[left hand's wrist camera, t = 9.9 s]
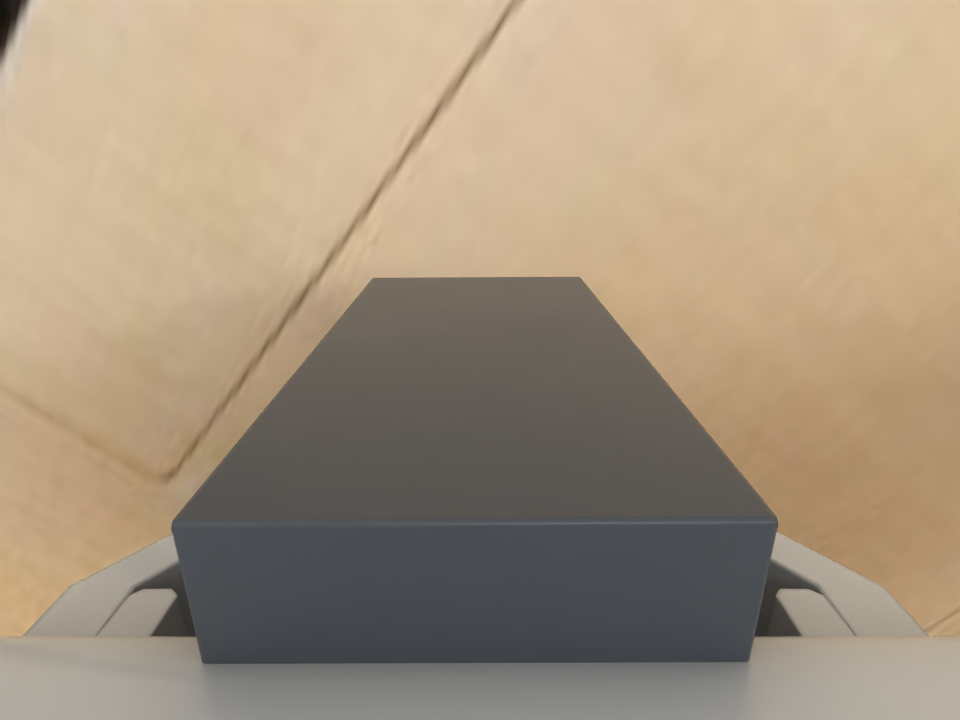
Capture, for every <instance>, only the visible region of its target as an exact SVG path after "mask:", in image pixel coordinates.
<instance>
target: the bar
mask: <svg viewBox="0 0 960 720" xmlns="http://www.w3.org/2000/svg"><path fill="white" fill-rule="evenodd" d="M777 527H778V520H777V517H776V516H775V514H774V513H773V512H772V511H771V510H770V508H769V507H768V506H767V505H766V503H765V502H764V501H763V500H762V499H761V497H760V496H759V495H758V494H757V492H756V491H755V490H754V489H753V488H752V486H751V485H750V484H749V483H748V481H747V480H746V479H745V478H744V477H743V475H742V474H741V473H740V472H739V471H738V469H737V468H736V467H735V466H734V464H733V463H732V462H731V461H730V460H729V458H728V457H727V456H726V455H725V453H724V452H723V451H722V450H721V449H720V447H719V446H718V445H717V444H716V442H715V441H714V440H713V439H712V438H711V436H710V435H709V434H708V433H707V432H706V430H705V429H704V428H703V427H702V425H701V424H700V423H699V422H698V421H697V419H696V418H695V417H694V416H693V414H692V413H691V412H690V411H689V410H688V408H687V407H686V406H685V405H684V403H683V402H682V401H681V400H680V399H679V397H678V396H677V395H676V394H675V393H674V391H673V390H672V389H671V388H670V386H669V385H668V384H667V383H666V382H665V380H664V379H663V378H662V377H661V375H660V374H659V373H658V372H657V371H656V369H655V368H654V367H653V366H652V364H651V363H650V362H649V361H648V360H647V358H646V357H645V356H644V355H643V354H642V352H641V351H640V350H639V349H638V347H637V346H636V345H635V344H634V343H633V341H632V340H631V339H630V338H629V336H628V335H627V334H626V333H625V332H624V330H623V329H622V328H621V327H620V325H619V324H618V323H617V322H616V321H615V319H614V318H613V317H612V316H611V315H610V313H609V312H608V311H607V310H606V308H605V307H604V306H603V305H602V304H601V302H600V301H599V300H598V299H597V297H596V296H595V295H594V294H593V293H592V291H591V290H590V289H589V288H588V286H587V285H586V284H585V283H584V282H583V280H582V279H581V278H580V277H485V278H373V279H372V280H371V281H370V282H369V284H368V285H367V286H366V287H365V288H364V290H363V291H362V292H361V293H360V295H359V296H358V297H357V298H356V299H355V301H354V302H353V303H352V304H351V305H350V307H349V308H348V309H347V310H346V311H345V313H344V314H343V315H342V316H341V318H340V319H339V320H338V321H337V322H336V324H335V325H334V326H333V327H332V328H331V330H330V331H329V332H328V333H327V335H326V336H325V337H324V338H323V339H322V341H321V342H320V343H319V344H318V345H317V347H316V348H315V349H314V350H313V351H312V353H311V354H310V355H309V356H308V358H307V359H306V360H305V361H304V362H303V364H302V365H301V366H300V367H299V368H298V370H297V371H296V372H295V373H294V374H293V376H292V377H291V378H290V379H289V381H288V382H287V383H286V384H285V385H284V387H283V388H282V389H281V390H280V391H279V393H278V394H277V395H276V396H275V397H274V399H273V400H272V401H271V402H270V404H269V405H268V406H267V407H266V408H265V410H264V411H263V412H262V413H261V414H260V416H259V417H258V418H257V419H256V421H255V422H254V423H253V424H252V425H251V427H250V428H249V429H248V430H247V431H246V433H245V434H244V435H243V436H242V437H241V439H240V440H239V441H238V442H237V444H236V445H235V446H234V447H233V448H232V450H231V451H230V452H229V453H228V454H227V456H226V457H225V458H224V459H223V460H222V462H221V463H220V464H219V465H218V467H217V468H216V469H215V470H214V471H213V473H212V474H211V475H210V476H209V477H208V479H207V480H206V481H205V482H204V483H203V485H202V486H201V487H200V488H199V490H198V491H197V492H196V493H195V494H194V496H193V497H192V498H191V499H190V500H189V502H188V503H187V504H186V505H185V507H184V508H183V509H182V510H181V511H180V513H179V514H178V515H177V516H176V517H175V519H174V520H173V522H172V527H171V529H172V533H173V538H174V542H175V546H176V551H177V555H178V559H179V564H180V568H181V572H182V577H183V581H184V586H185V590H186V594H187V599H188V603H189V607H190V612H191V616H192V620H193V625H194V629H195V633H196V638H197V642H198V646H199V651H200V655H201V660H202V663H205V664H341V663H639V662H747V661H749V659H750V655H751V650H752V645H753V641H754V636H755V631H756V626H757V622H758V617H759V612H760V608H761V603H762V598H763V593H764V589H765V584H766V579H767V575H768V570H769V565H770V560H771V556H772V551H773V546H774V542H775V537H776V532H777Z"/></svg>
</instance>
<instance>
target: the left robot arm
mask: <svg viewBox="0 0 960 720" xmlns="http://www.w3.org/2000/svg"><path fill="white" fill-rule="evenodd" d="M0 720H960V636H929V635H928V634H927V633H926V632H925V631H924V630H923V629H922V627H921V626H920V625H919V624H918V623H917V622H916V621H915V620H914V619H913V618H912V617H911V615H910V614H909V613H908V612H907V611H906V610H905V609H904V608H903V607H902V606H901V605H900V604H899V602H898V601H897V600H896V599H895V598H894V597H893V596H892V595H891V594H890V593H889V592H888V590H887V589H886V588H885V587H883V586H881V585H879V584H877V583H875V582H873V581H871V580H869V579H868V578H866V577H864V576H862V575H860V574H858V573H856V572H854V571H852V570H850V569H848V568H846V567H844V566H842V565H841V564H839V563H837V562H835V561H833V560H831V559H829V558H827V557H825V556H823V555H821V554H819V553H817V552H816V551H814V550H812V549H810V548H808V547H806V546H804V545H802V544H800V543H798V542H796V541H794V540H792V539H790V538H789V537H787V536H785V535H783V534H781V533H779V532H776V537H775V542H774V546H773V551H772V556H771V560H770V565H769V570H768V575H767V579H766V584H765V589H764V593H763V598H762V603H761V608H760V612H759V617H758V622H757V626H756V631H755V636H754V641H753V645H752V650H751V655H750V659H749V661H747V662H639V663H341V664H205V663H202V660H201V655H200V651H199V646H198V642H197V638H196V633H195V629H194V625H193V620H192V616H191V612H190V607H189V603H188V599H187V594H186V590H185V586H184V581H183V577H182V572H181V568H180V564H179V559H178V555H177V551H176V546H175V542H174V538H173V534H171V535H169V536H167V537H165V538H163V539H161V540H159V541H157V542H155V543H153V544H151V545H149V546H147V547H146V548H144V549H142V550H140V551H138V552H136V553H134V554H132V555H130V556H128V557H126V558H124V559H122V560H120V561H118V562H116V563H114V564H112V565H110V566H108V567H107V568H105V569H103V570H101V571H99V572H97V573H95V574H93V575H91V576H89V577H87V578H85V579H83V580H81V581H79V582H77V583H75V584H73V585H71V586H69V587H68V589H67V590H66V591H65V592H64V593H63V594H62V595H61V596H60V597H59V598H58V599H57V600H56V601H55V602H54V603H53V604H52V605H51V607H50V608H49V609H48V610H47V611H46V612H45V613H44V614H43V615H42V616H41V617H40V618H39V619H38V620H37V621H36V622H35V624H34V625H33V626H32V627H31V628H30V629H29V630H28V631H27V632H26V633H25V634H24V635H23V636H0Z"/></svg>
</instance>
